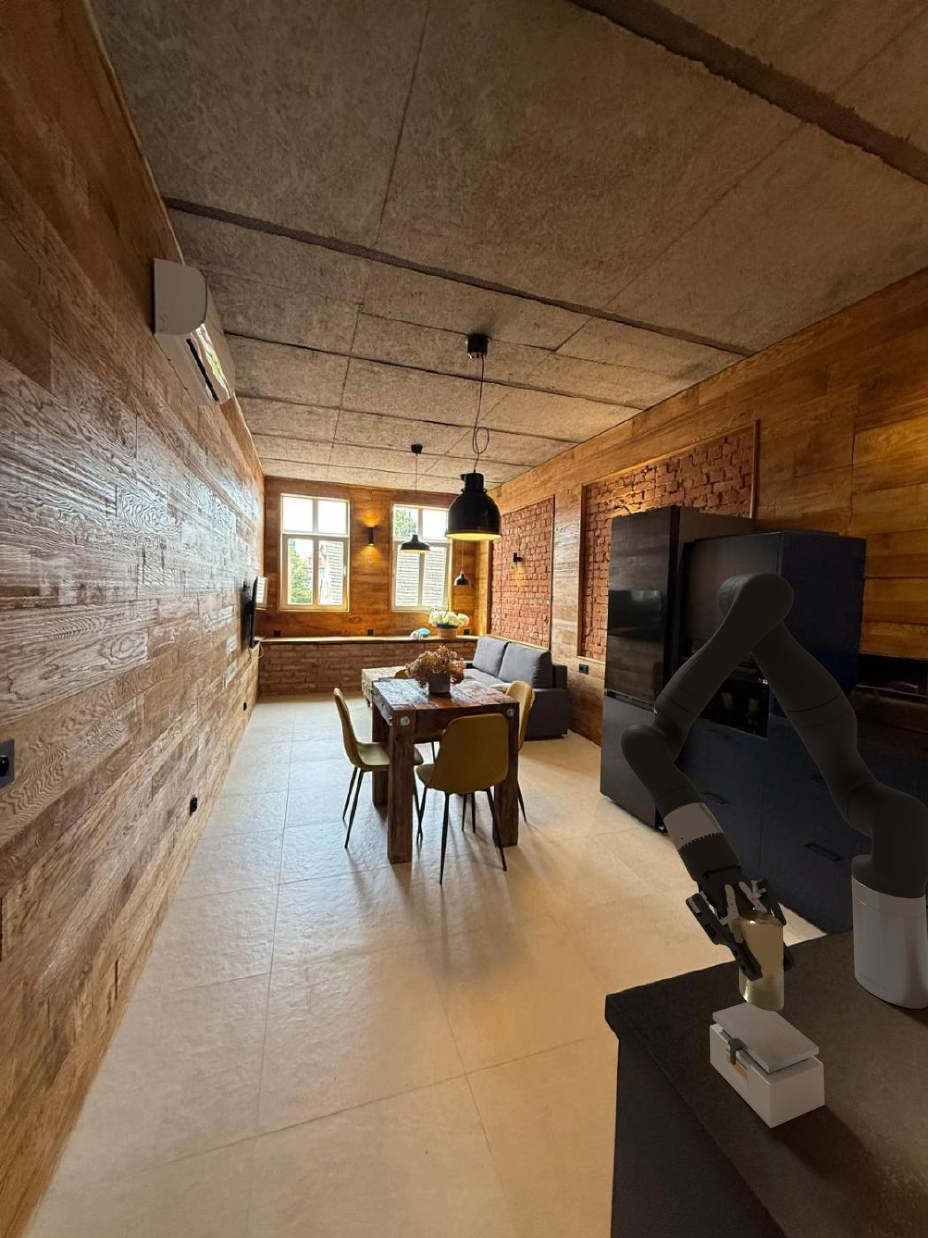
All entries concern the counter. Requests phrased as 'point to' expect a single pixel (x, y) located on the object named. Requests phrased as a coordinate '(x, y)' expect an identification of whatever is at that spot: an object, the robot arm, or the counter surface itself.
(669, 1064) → the counter surface
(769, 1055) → the box lid
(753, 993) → the disc
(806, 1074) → the white latched box
